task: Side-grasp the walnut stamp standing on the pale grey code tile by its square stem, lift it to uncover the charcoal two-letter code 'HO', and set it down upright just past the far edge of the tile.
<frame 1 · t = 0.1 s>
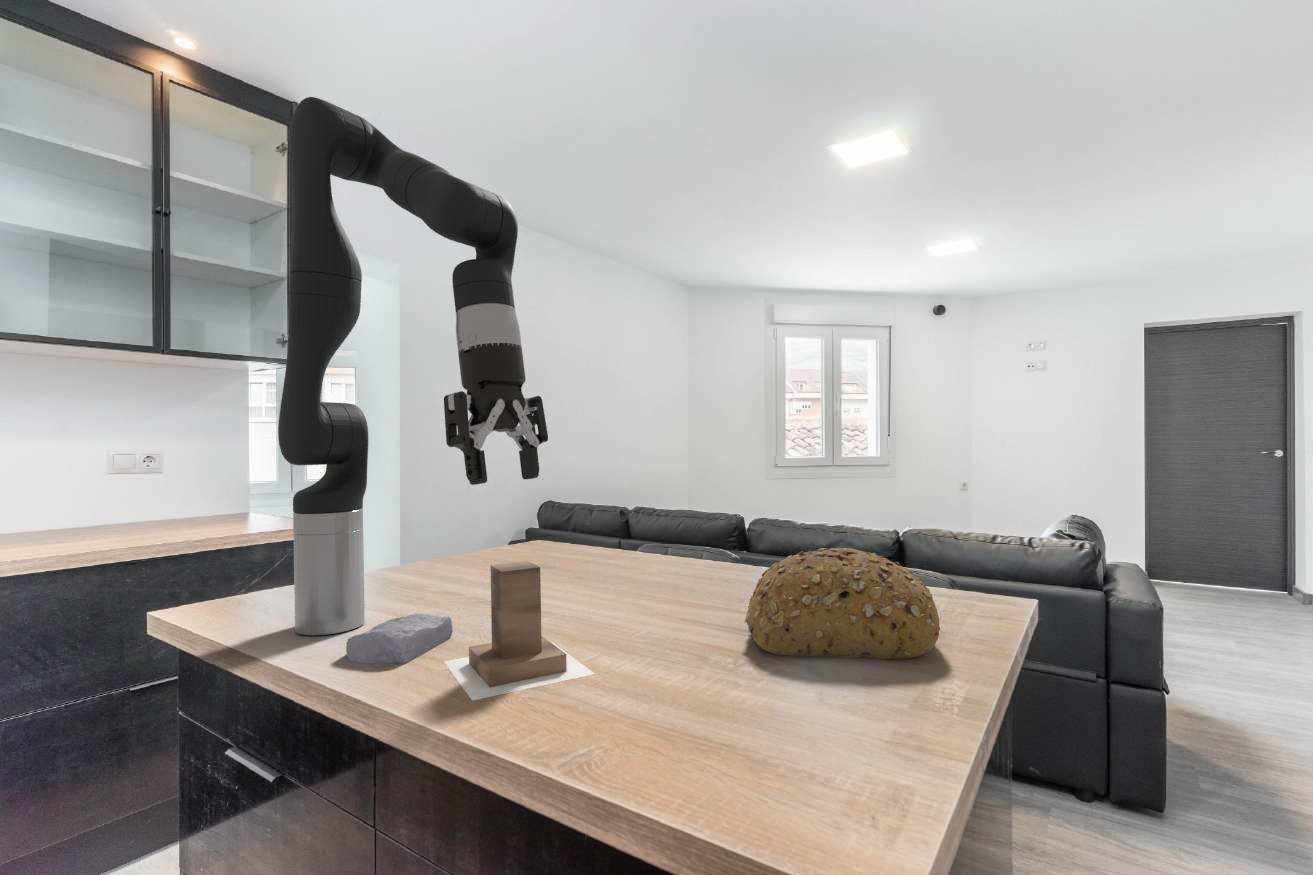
hand: (505, 481, 77), 22 cm above the counter, tool pointing down, fingers open, 8 cm apart
bread: (835, 640, 86), on the counter
code tile: (516, 668, 76), on the counter
stone block: (398, 652, 85), on the counter
walnut stamp: (516, 667, 76), resting on code tile
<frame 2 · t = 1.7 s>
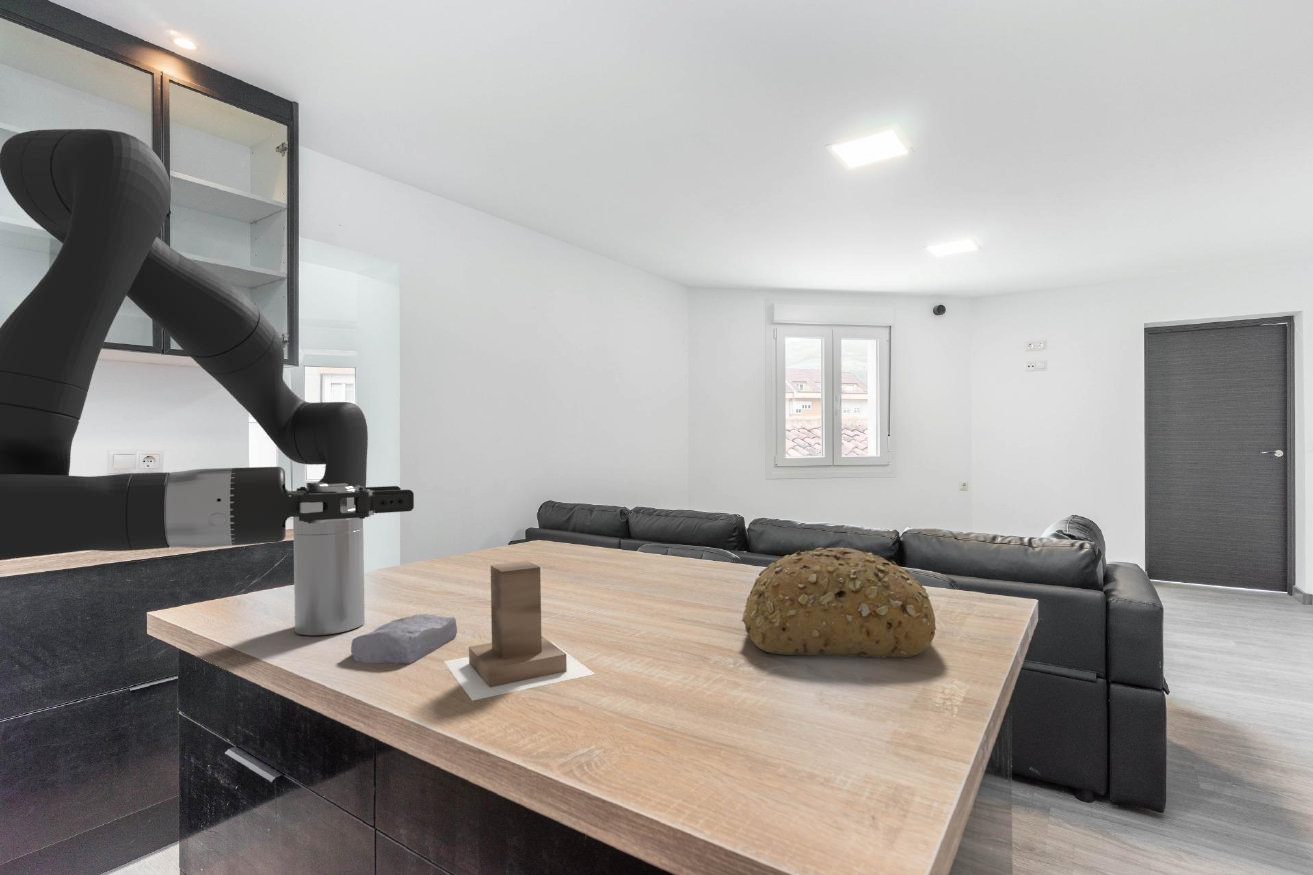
hand: (406, 497, 70), 21 cm above the counter, tool horizontal, fingers open, 8 cm apart
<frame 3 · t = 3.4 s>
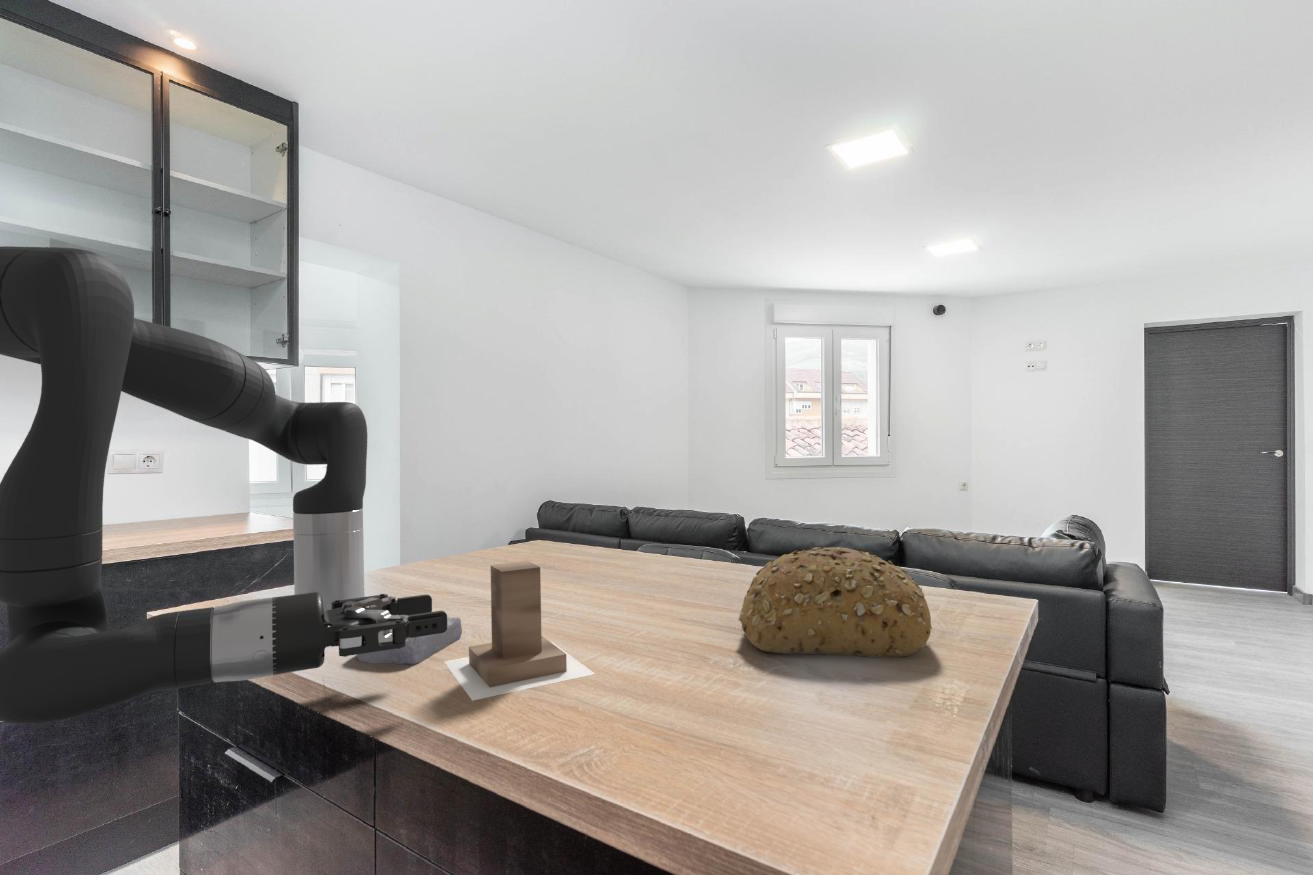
hand: (438, 611, 72), 8 cm above the counter, tool horizontal, fingers open, 8 cm apart
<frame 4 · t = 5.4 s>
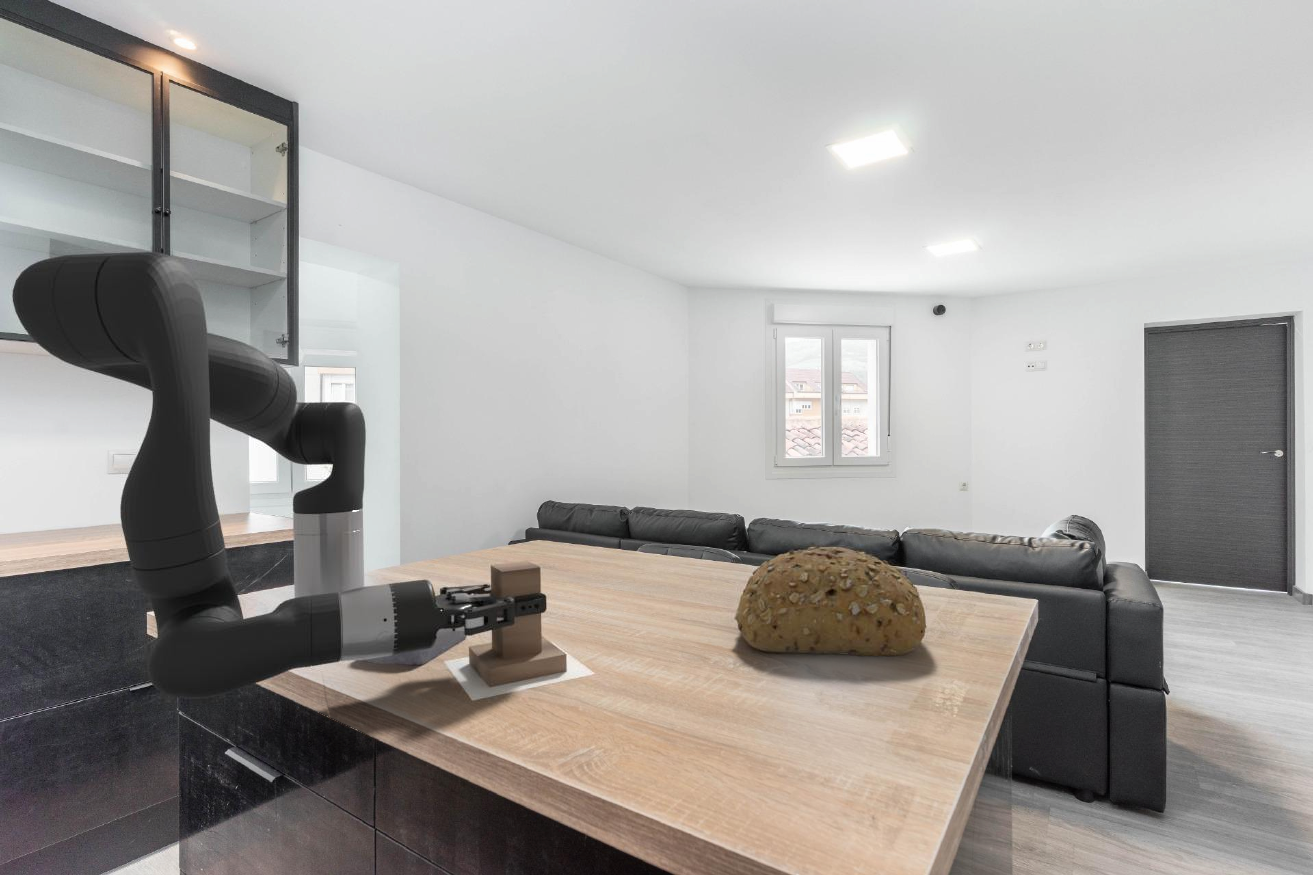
hand: (537, 597, 78), 8 cm above the counter, tool horizontal, fingers closed on walnut stamp, 4 cm apart
walnut stamp: (516, 666, 76), resting on code tile, touching gripper
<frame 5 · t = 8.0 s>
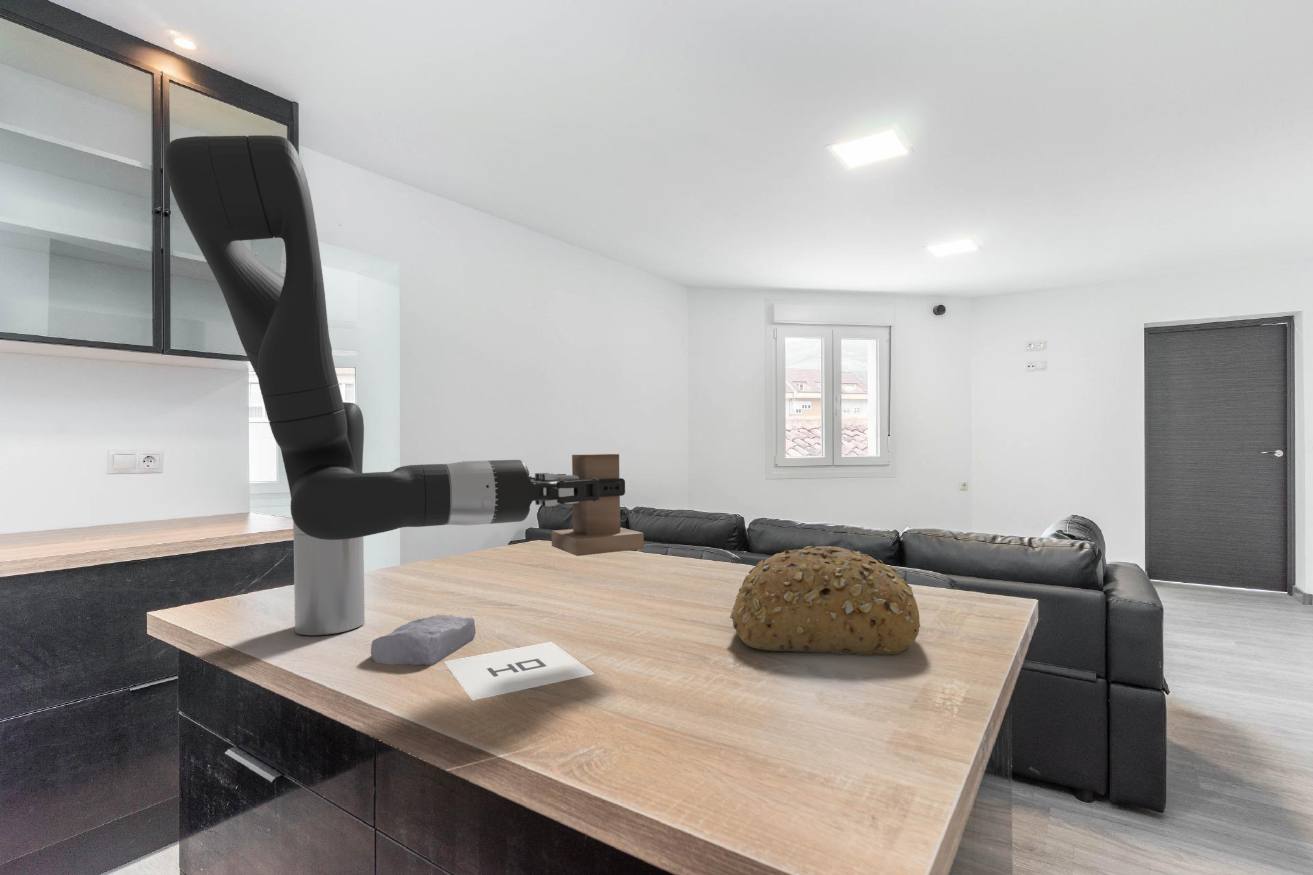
hand: (614, 485, 84), 21 cm above the counter, tool horizontal, fingers closed on walnut stamp, 4 cm apart
stone block: (422, 653, 84), on the counter
walnut stamp: (596, 547, 83), point 13 cm above the counter, touching gripper
when the fingers open (9 cm above the counter, at t = 10.4 s): walnut stamp drops 2 cm, on the counter.
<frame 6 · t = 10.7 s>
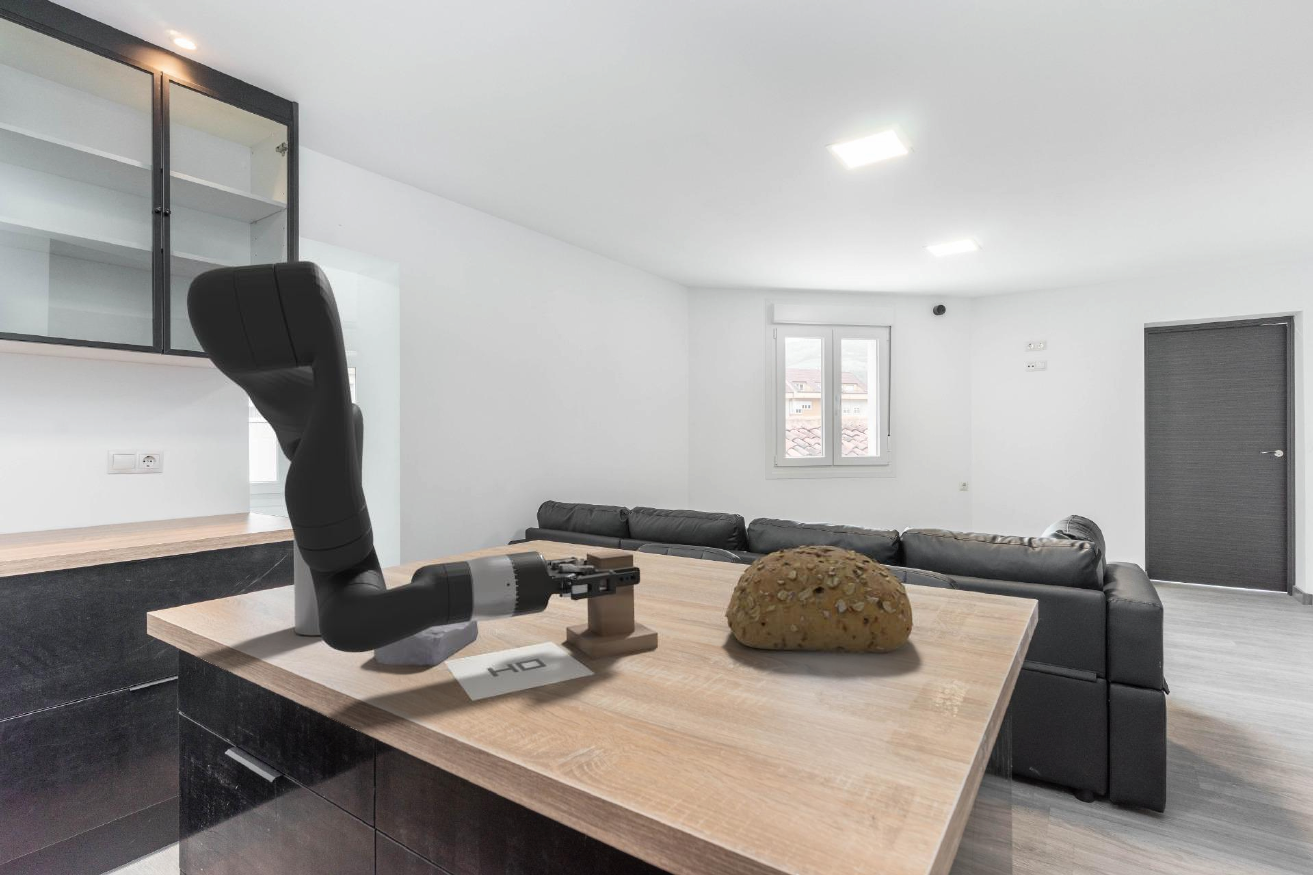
hand: (625, 569, 86), 10 cm above the counter, tool horizontal, fingers open, 7 cm apart
walnut stamp: (611, 644, 85), on the counter
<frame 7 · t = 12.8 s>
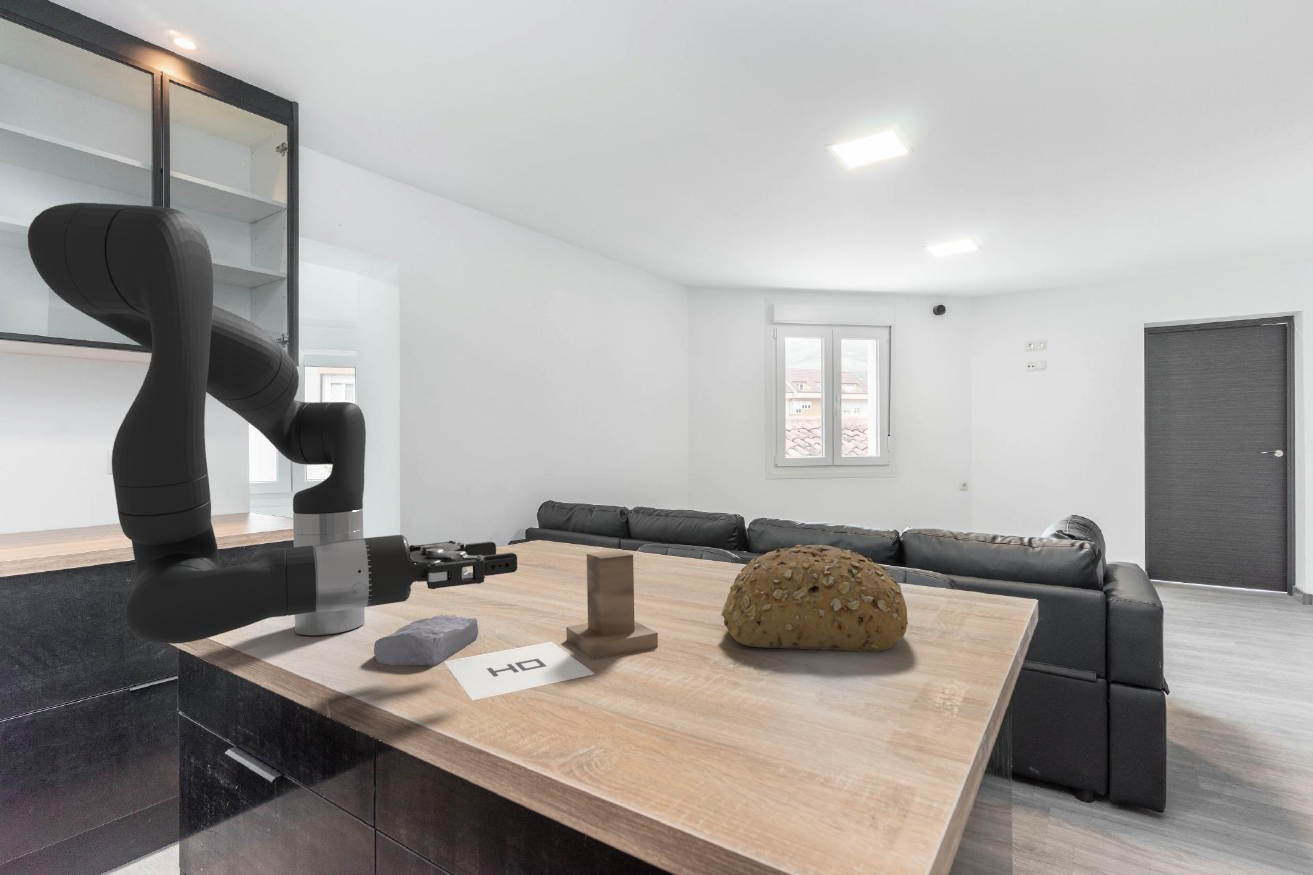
hand: (505, 555, 79), 13 cm above the counter, tool horizontal, fingers open, 8 cm apart
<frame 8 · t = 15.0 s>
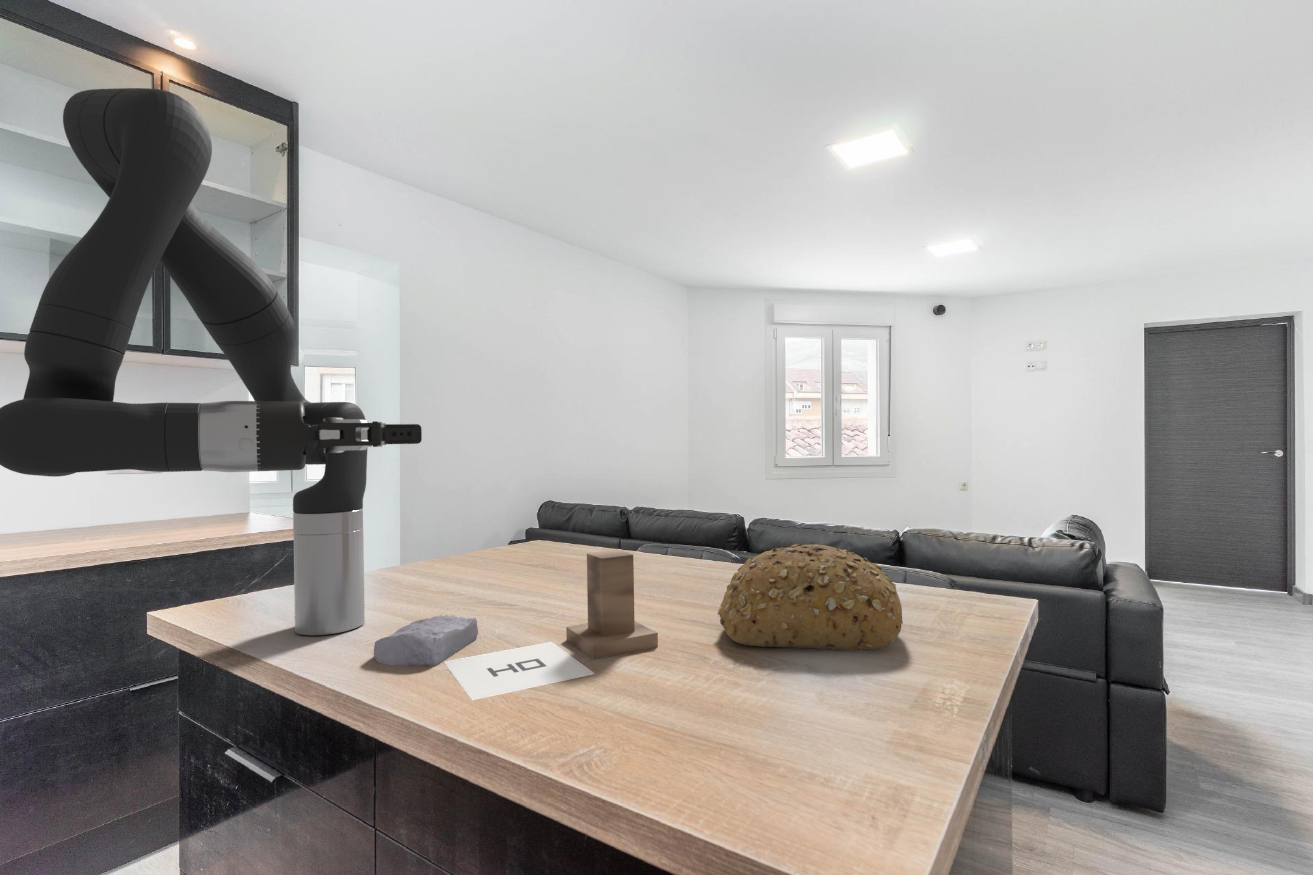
hand: (414, 434, 77), 28 cm above the counter, tool horizontal, fingers open, 8 cm apart
at the end: walnut stamp inside the target area (1.1 cm from its centre), on the counter; walnut stamp tilted 0°; the gripper is holding nothing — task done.
